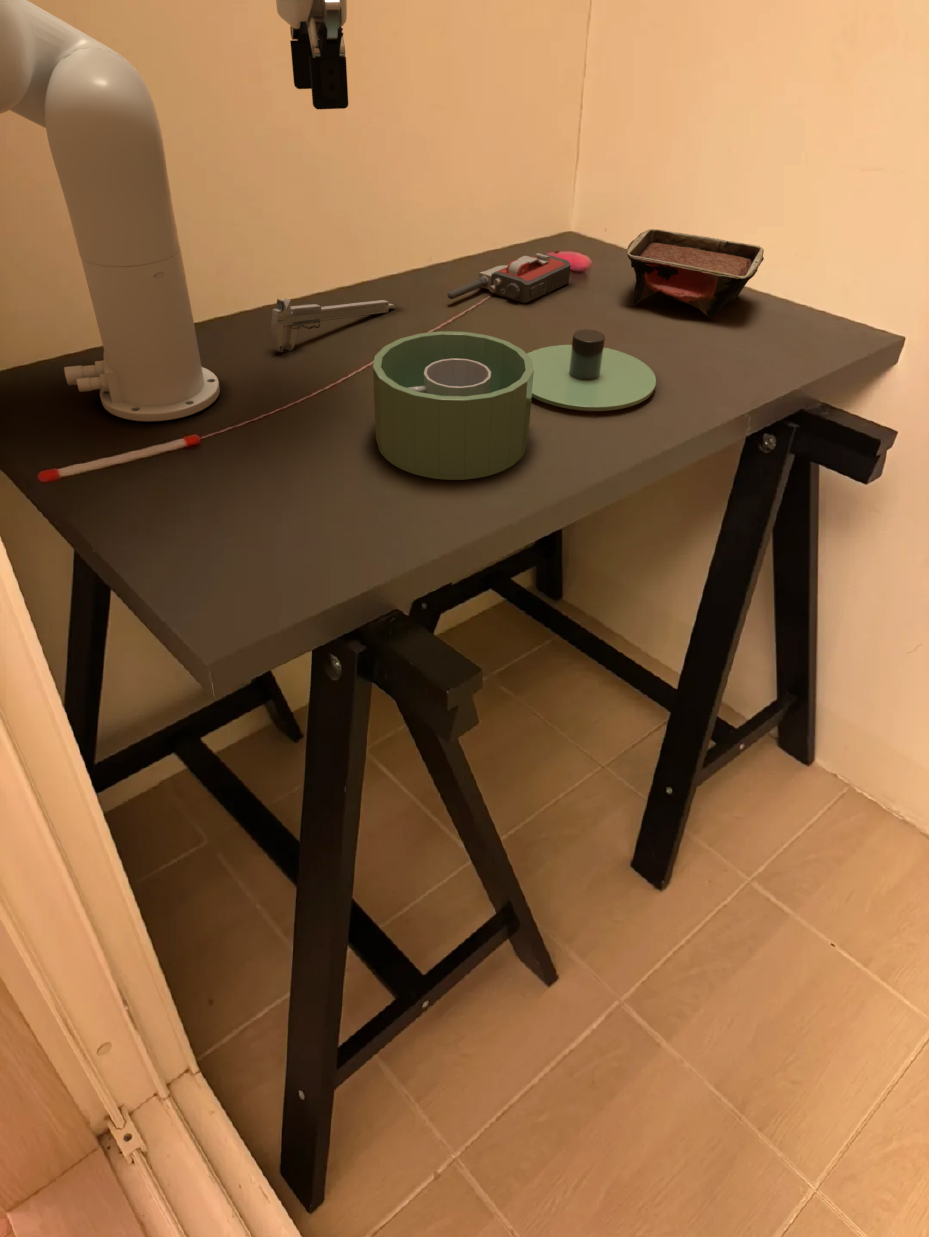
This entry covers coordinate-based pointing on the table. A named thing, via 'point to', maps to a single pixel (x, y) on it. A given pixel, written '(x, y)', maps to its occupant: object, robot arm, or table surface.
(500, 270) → the walkie-talkie
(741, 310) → the table surface
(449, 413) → the pot
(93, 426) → the table surface
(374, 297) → the table surface
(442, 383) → the mug
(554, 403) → the pot lid
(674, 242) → the baking dish
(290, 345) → the caliper
